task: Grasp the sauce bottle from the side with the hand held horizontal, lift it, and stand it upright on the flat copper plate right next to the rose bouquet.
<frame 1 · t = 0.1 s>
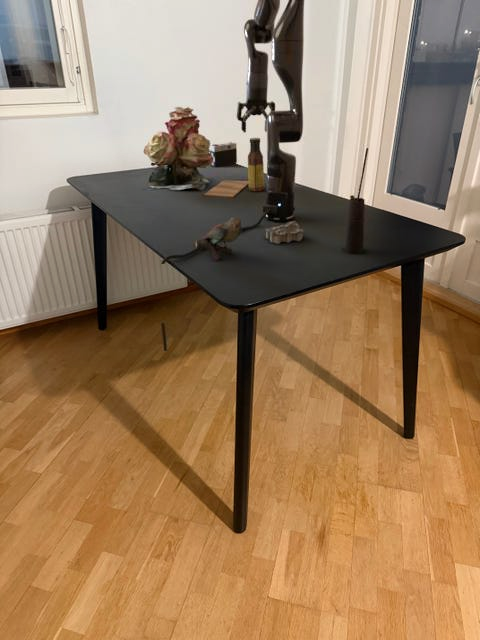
hand: (255, 131, 177), 22 cm above the table, tool pointing down, fingers open, 8 cm apart
rose bouquet: (184, 184, 198), on the table
butter churn: (350, 249, 132), on the table
camera: (221, 164, 232), on the table
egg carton: (284, 239, 140), on the table
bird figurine: (215, 256, 129), on the table
flat copper plate: (228, 188, 191), on the table
sauce bottle: (255, 190, 189), on the table
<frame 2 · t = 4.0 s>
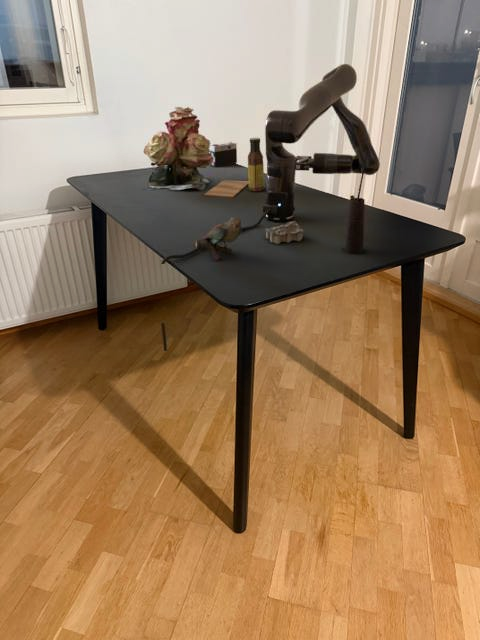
hand: (283, 162, 181), 11 cm above the table, tool horizontal, fingers open, 8 cm apart
nothing on the table moved.
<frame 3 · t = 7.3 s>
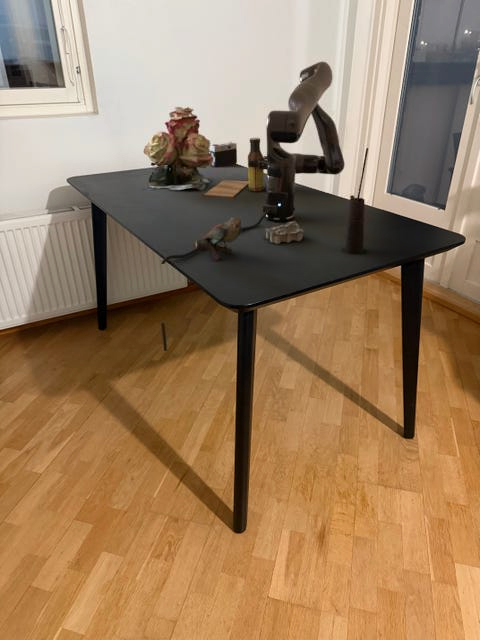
hand: (250, 161, 183), 11 cm above the table, tool horizontal, fingers closed on sauce bottle, 6 cm apart
sauce bottle: (255, 190, 189), on the table, touching gripper
everything else where it was.
when the fingers open (12 cm above the table, at t = 16.1 s): sauce bottle stays where it is, resting on flat copper plate.
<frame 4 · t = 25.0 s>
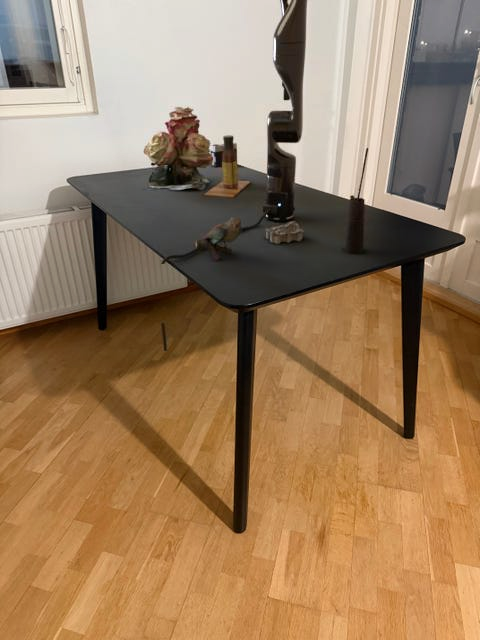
hand: (289, 99, 165), 34 cm above the table, tool pointing down, fingers open, 8 cm apart
sauce bottle: (230, 187, 191), resting on flat copper plate
everything else where it was.
at the end: sauce bottle inside the target area on the flat copper plate (1.3 cm from its centre), point 0.3 cm above the flat copper plate's base; sauce bottle 21.2 cm from the rose bouquet (horizontally); sauce bottle tilted 0° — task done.
